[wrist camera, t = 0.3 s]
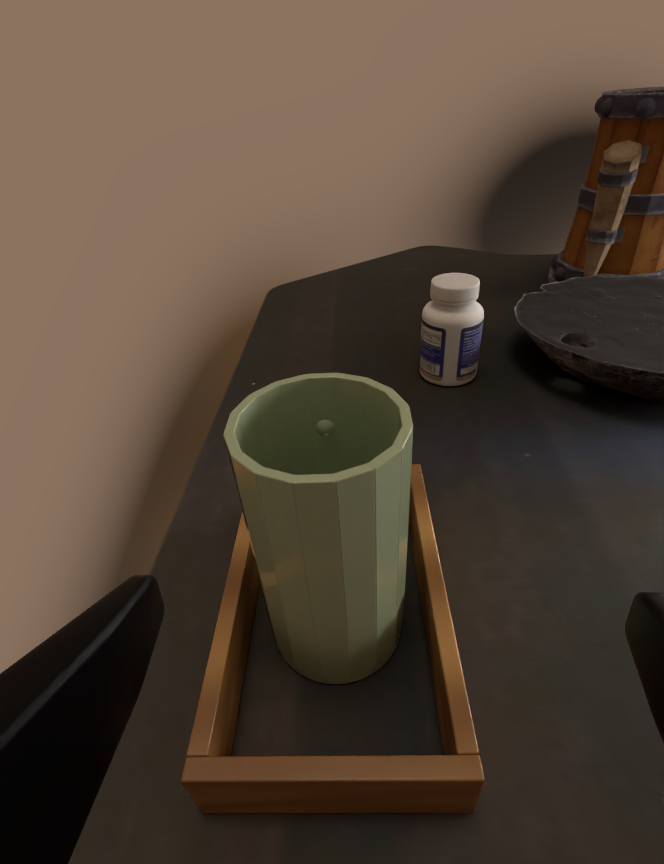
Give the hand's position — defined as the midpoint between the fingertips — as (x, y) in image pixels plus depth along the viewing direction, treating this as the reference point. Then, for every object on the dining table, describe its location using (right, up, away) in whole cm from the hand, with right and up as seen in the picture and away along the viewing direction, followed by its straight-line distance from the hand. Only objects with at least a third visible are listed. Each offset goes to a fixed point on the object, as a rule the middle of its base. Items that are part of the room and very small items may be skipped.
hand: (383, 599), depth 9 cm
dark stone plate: (+27, +10, +36) cm, 46 cm away
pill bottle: (+10, +9, +36) cm, 38 cm away
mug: (+33, +21, +51) cm, 64 cm away
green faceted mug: (-1, -6, +17) cm, 18 cm away
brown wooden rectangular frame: (-1, -7, +16) cm, 18 cm away
